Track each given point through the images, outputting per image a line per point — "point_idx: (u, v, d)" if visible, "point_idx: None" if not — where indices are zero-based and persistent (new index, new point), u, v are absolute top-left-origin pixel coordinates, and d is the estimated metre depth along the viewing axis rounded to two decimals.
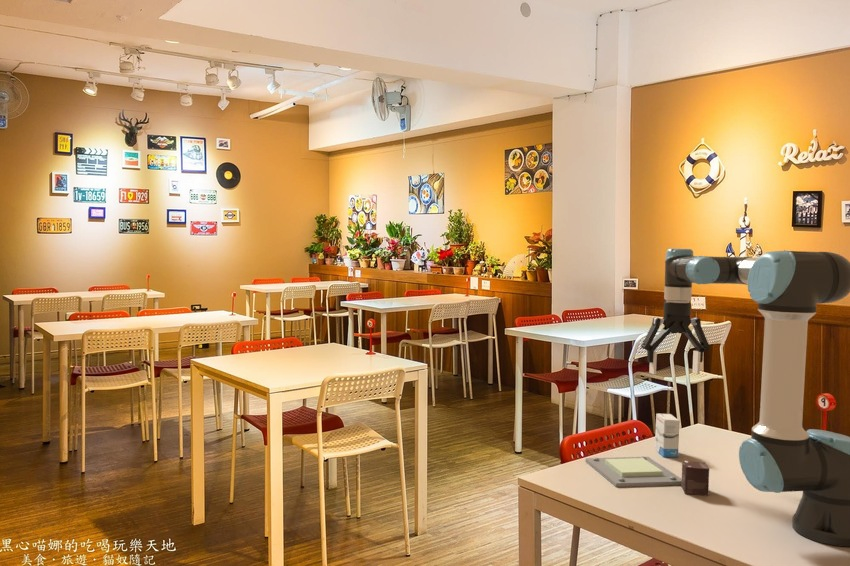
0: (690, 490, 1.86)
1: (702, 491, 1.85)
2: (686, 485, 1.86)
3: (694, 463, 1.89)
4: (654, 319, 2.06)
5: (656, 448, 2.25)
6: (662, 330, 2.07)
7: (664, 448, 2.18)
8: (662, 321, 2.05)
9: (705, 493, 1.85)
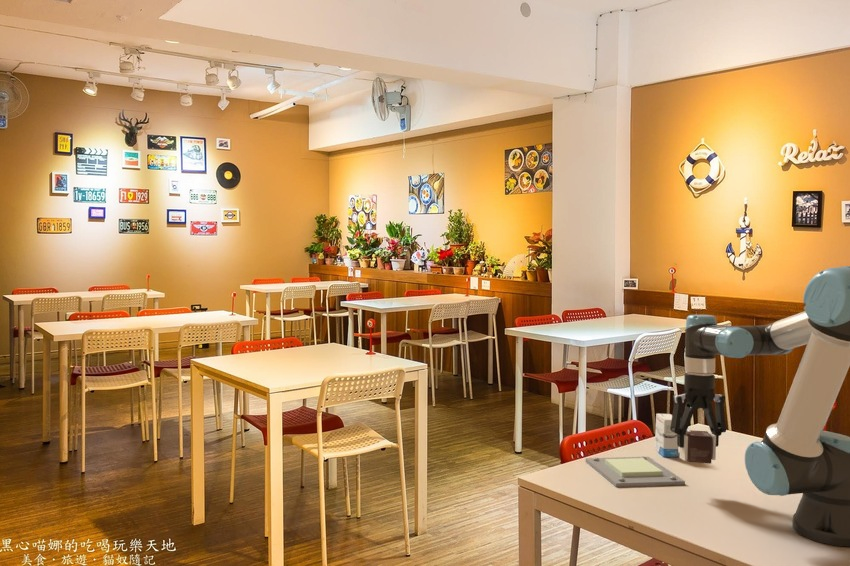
0: (693, 458, 1.85)
1: (705, 459, 1.85)
2: (689, 453, 1.85)
3: (696, 432, 1.88)
4: (674, 398, 1.86)
5: (656, 448, 2.25)
6: (686, 408, 1.87)
7: (664, 448, 2.18)
8: (684, 397, 1.86)
9: (708, 461, 1.84)
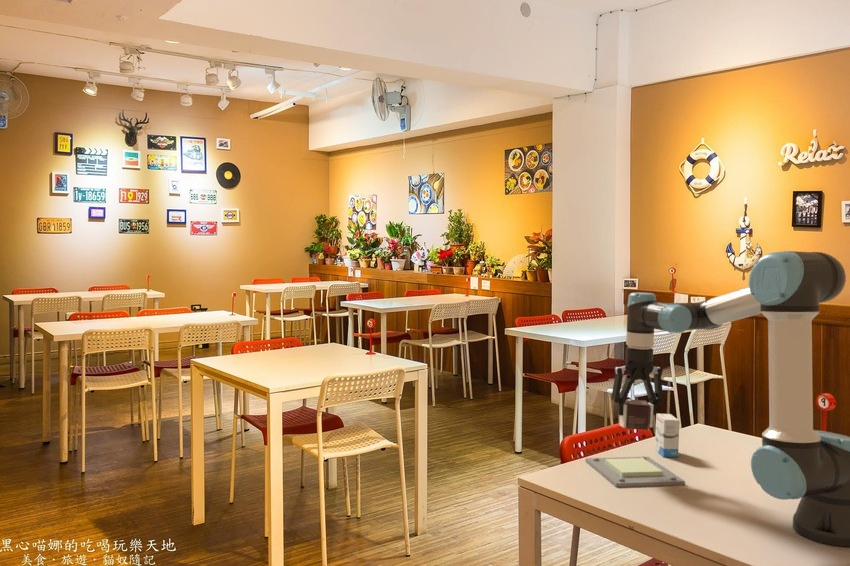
0: (631, 425, 2.00)
1: (642, 426, 1.99)
2: (627, 420, 2.00)
3: (636, 401, 2.03)
4: (615, 369, 2.00)
5: (656, 448, 2.25)
6: (626, 379, 2.01)
7: (664, 448, 2.18)
8: (624, 369, 2.00)
9: (645, 428, 1.99)
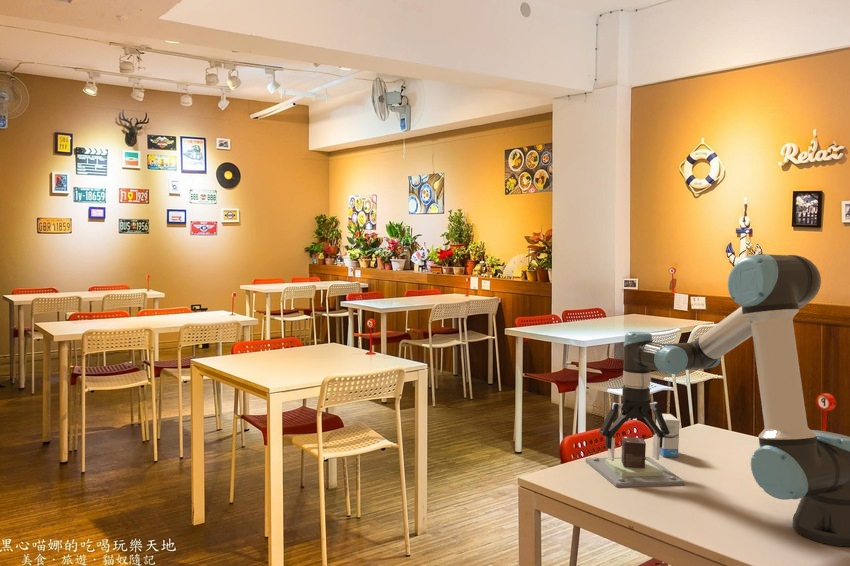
0: (628, 463, 2.00)
1: (639, 464, 2.00)
2: (625, 459, 2.00)
3: (632, 439, 2.04)
4: (612, 404, 2.01)
5: None
6: (621, 415, 2.02)
7: (664, 448, 2.18)
8: (620, 406, 2.01)
9: (642, 466, 2.00)
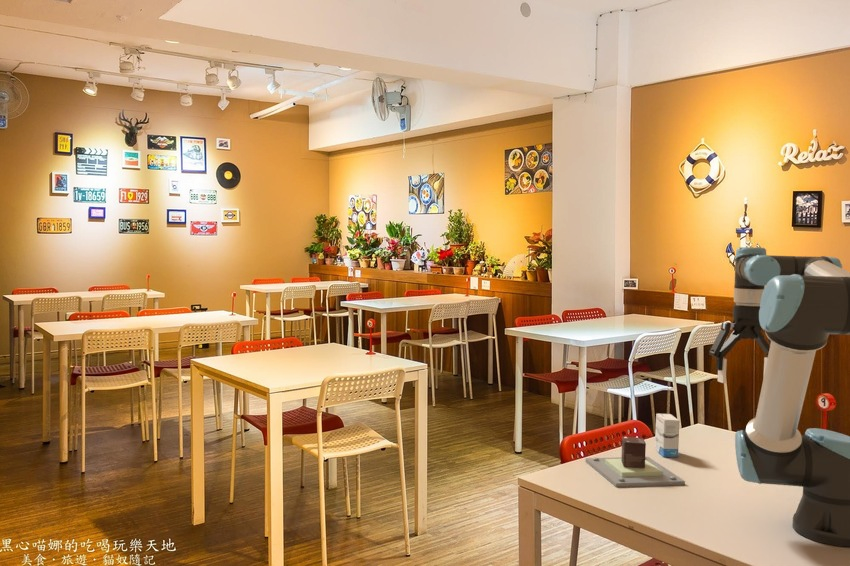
0: (628, 463, 2.00)
1: (639, 464, 2.00)
2: (625, 459, 2.00)
3: (632, 439, 2.04)
4: (723, 323, 1.91)
5: (656, 448, 2.25)
6: (732, 335, 1.92)
7: (664, 448, 2.18)
8: (732, 326, 1.90)
9: (642, 466, 2.00)
